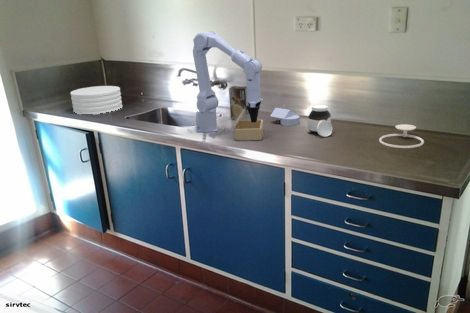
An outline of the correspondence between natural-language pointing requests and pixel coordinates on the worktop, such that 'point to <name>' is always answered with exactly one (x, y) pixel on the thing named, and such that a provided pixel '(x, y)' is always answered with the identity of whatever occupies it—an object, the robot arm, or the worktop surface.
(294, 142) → the worktop surface
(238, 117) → the lid flap
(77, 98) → the plate stack
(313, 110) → the spread jar
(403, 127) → the hand towel holder
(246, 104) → the coffee box
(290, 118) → the wedge on round base
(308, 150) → the worktop surface
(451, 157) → the worktop surface
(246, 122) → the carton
